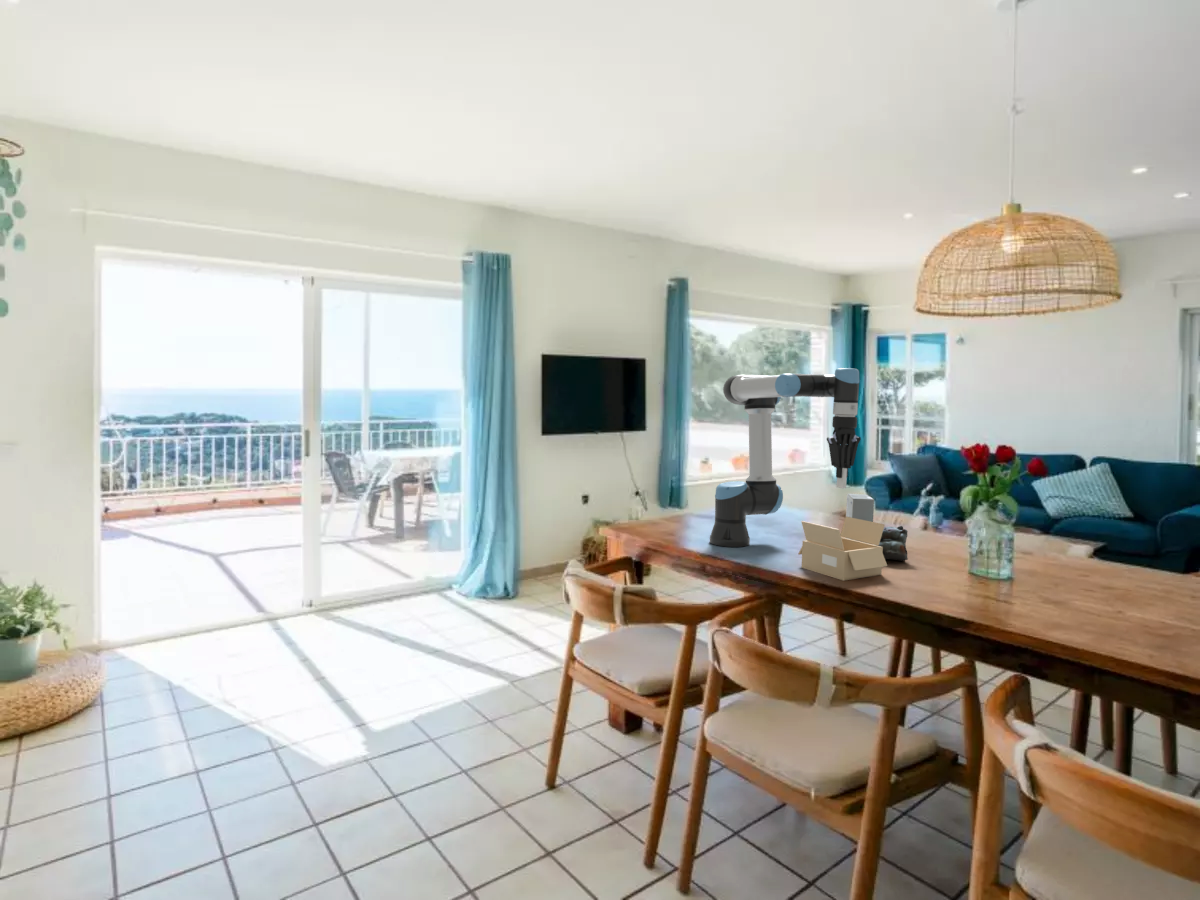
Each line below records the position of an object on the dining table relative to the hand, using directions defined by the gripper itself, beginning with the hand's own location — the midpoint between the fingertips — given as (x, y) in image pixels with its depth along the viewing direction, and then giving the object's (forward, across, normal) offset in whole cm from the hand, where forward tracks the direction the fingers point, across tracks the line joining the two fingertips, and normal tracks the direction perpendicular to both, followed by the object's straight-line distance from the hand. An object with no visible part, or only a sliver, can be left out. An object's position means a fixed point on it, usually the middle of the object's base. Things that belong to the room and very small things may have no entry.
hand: (841, 487), depth 232 cm
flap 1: (+14, -11, -4) cm, 18 cm away
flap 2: (+14, +6, -4) cm, 16 cm away
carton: (+27, -2, -4) cm, 27 cm away
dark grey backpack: (+27, +24, +2) cm, 36 cm away
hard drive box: (+27, +29, +19) cm, 44 cm away
